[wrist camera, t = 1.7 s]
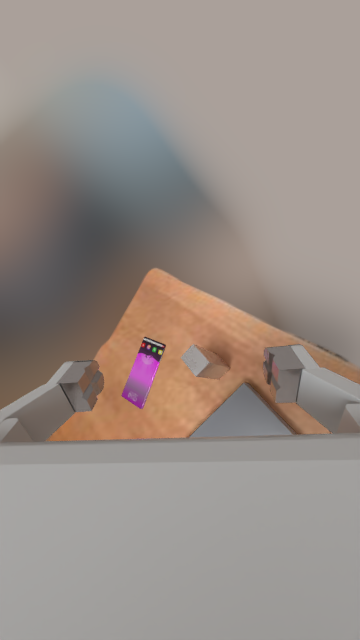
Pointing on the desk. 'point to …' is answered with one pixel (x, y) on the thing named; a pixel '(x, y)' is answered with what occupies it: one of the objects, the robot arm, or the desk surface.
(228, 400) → the block
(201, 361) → the grey square post
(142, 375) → the smartphone
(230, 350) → the desk surface
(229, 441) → the robot arm
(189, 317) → the desk surface
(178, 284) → the desk surface
